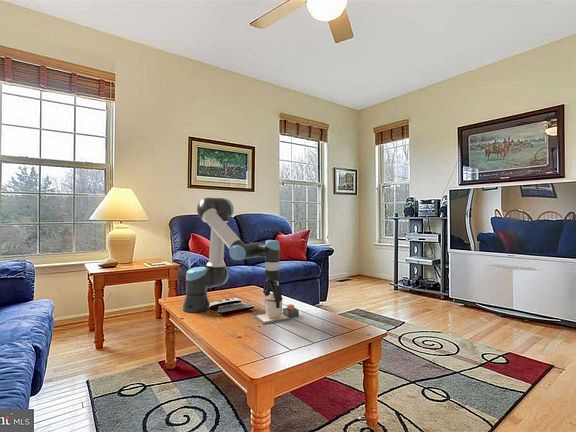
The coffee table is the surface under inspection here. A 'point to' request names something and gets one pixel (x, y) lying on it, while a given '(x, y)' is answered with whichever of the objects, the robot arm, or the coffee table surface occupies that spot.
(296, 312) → the button housing
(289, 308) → the button
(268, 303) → the teacup with lid
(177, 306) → the coffee table surface
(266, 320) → the board
